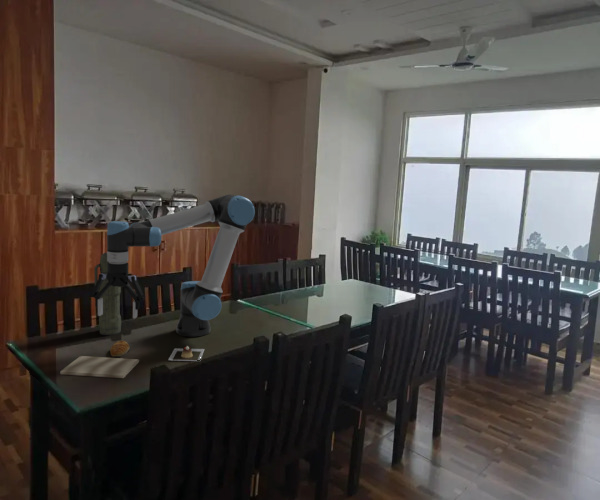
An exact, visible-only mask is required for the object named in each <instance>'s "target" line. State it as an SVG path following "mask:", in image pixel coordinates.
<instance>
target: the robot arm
mask: <svg viewBox="0 0 600 500" xmlns="http://www.w3.org/2000/svg"><path fill="white" fill-rule="evenodd" d="M255 214H256V211H255V206H254V204H253V202H252V201H251V200H250V199H249V198H247V197H245V196H242V195H235V194H225V195H222V196H219V197H216V198H213V199H210V200H207V201H205V203H204V204H201V205H198V206H195V207H191V208H190V207H189V208H186V209H183V210H180V211H176V212H173V213H170V214H169V213H168V214H167V215H166V214H165V215H162V216H158V217H155V218H152V219H148V220H145V221H142V222H139V221H137V222H133V223H131V224H130V225H129V222H127V221H119V220H115V221H113V220H112V221H110V222H108V223H107V229H106V230H107V231H106V247H107V248H106V251H107V252H106V253H107V261H108V263H107V274H104V273H101V272H100V274H98V281H97V283H96V285H95V284H94V286H93V289H92V290H91V292H90V298H94V299H95V300H94V301H95V307H96V308H97V316H98V317H100V315H102V314H103V298H100V297H101V296H102V295H103V294H104V293H105V292H106V290H107V289H108V288H109V287H110V286H111V285H112V286H118V287H121V286H123V287H121V288H123V289H124V290H126V292H127V293H128V294H129V295H130V297H131V298H132V299H133V300H134V301H132V319H136V318H137V317H138V310H140V308H141V301H143V300H145V298H146V297H145V294H144V292H143V289H142V288H141V286H140V284H139V282H138V281H139V280H138V277H137V274H135V275H129V248H130V247H131V248H133V247H150V248H151V247H159V246H160V245H161V244H162V236H163V235H167V234H171V233H175V232H177V231H180V230H184V229H187V228H191V227H193V226H197V225H201V224H204V223H207V222H211V223H214V222H217V223H218V225H219V231H217V235H216V238H215V241H214V243H213V247H212V249H211V252H210V255H209V258H208V260H207V263H206V267H205V268H204V272H203V275H202V278H201V280H191V281H184V282H182V283H181V286H180V288H179V289H180V315H179V318H178V321H177V323H176V326H175V327H176V329H175V331H176V334H178V335H180V336H182V337H188V338H190V337H191V338H193V337H194V338H195V337H203V336H206V335H208V334H210V333H211V324H210V320H212V319H215V318H216V317H218V315H219V314H220V313H221V310H222V300H221V298H222V295H223V293H224V292H223V288H222V284H223V281H224V278H225V276H226V274H227V273H226V272H227V271H228V268H229V264H230V262H231V259H232V255H233V253H234V250H235V247H236V245H237V242H238V239H239V237H240V234H242V233H244V232H245V230H246V228H247V225H248V224H250V223H251V222H252V221H253V219H254V218H255ZM105 278H107V280H108V281H109V282H108V283H107V284H106V285H105V286H104V287H103V289H102V290H101V291H100V292H99V288H100V286H101V284H102V283H103V281H104V279H105ZM129 281H130V282H131V284H132V286H133V287H132V286H131V284H130V283H129ZM133 288H134V289H133Z"/></svg>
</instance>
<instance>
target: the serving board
mask: <svg viewBox="0 0 600 500" xmlns="http://www.w3.org/2000/svg"><path fill="white" fill-rule="evenodd" d="M139 362H140V359H138V358H137V359H136V358H123V357H122V358H119V357H105V356H104V357H103V356H90V355H89V356H88V355H87V356H86V355H80V356H78V358H76V359H75V360H73V361H72V362H71V363H69V364H68V365H67V366H65V367H64V368H63V369H62V370H60V373H59V374H60V375H67V376H69V375H70V376H84V377H85V376H86V377H98V378H99V377H100V378H116V379H124V378H126V376H127V375H128V374H129V373H130V372H131V371H132V370H133V369H134V368H135V367H136V366H137V365H138V364H139Z"/></svg>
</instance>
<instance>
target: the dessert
mask: <svg viewBox="0 0 600 500" xmlns="http://www.w3.org/2000/svg"><path fill="white" fill-rule="evenodd" d="M204 351H205V348H190V347H189V346H188V345H185V347H184V348H181V347H180V348H174V349H173V350H172V353H170V356H169V357H168V361H170V362H198V361H197V360H200V359H201V360H202V357H203V354H204ZM177 352H181V355H180V357H181V358H183V359H174V357H175V356H176V354H177ZM193 352H198V353H199V352H200V353H199V356H198V357H197V360H196V359H195V360H192V359H190V358H192V357H193V356H194V355H193ZM189 359H190V360H189ZM201 360H200V361H201Z"/></svg>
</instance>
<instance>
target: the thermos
mask: <svg viewBox="0 0 600 500" xmlns="http://www.w3.org/2000/svg"><path fill="white" fill-rule="evenodd" d="M107 263H108V261H107V252H104V253H102V254H101V256H100V259H99V263H98V264H96V265H95V267H94V269H93V271H94V286H95V285H96V283H97V281H98V277H99V274H98V272H100V274H101V273H104V274H107ZM98 268H99V271H98ZM108 282H109V281H108V280H107V278H105V279H104V281H103V283H102V284H101V286H100V288H99V290H98V293H99V292H100V291H101V290H102V289H103V287H104V286H105V285H106V284H107V283H108ZM122 288H123V286H121V287H118V286H112V285H111V286H110V287H109V288H108V289H107V290H106V292H105V293H104V294H103V295H102V296H101V297H100V298H103V314H102V315H100V316H98V326H99V327H98V328H99V334H100V335H101V336H102V335H103V336H113V335H114V336H115V335H118V334H120V333H121V332H122V330H121V327H122V316H121V313H120V311H121V310H120V308H121V306H120V303H121V302H120V300H121V299H120V295H121V292H122V291H121V289H122Z"/></svg>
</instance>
